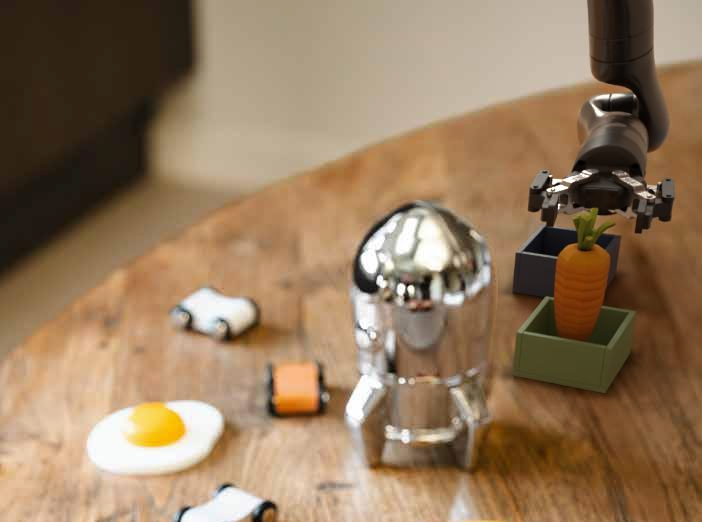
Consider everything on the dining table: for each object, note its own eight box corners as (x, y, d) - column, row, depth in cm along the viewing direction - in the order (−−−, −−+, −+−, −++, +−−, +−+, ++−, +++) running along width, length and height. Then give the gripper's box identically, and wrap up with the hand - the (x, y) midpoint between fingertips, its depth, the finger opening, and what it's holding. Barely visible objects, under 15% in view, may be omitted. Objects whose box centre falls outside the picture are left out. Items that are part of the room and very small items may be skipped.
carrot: (568, 342, 122) (586, 195, 113) (607, 359, 119) (629, 209, 110) (535, 357, 120) (550, 208, 111) (574, 374, 116) (593, 222, 107)
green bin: (630, 353, 121) (636, 311, 118) (605, 393, 114) (611, 349, 112) (541, 337, 124) (545, 296, 122) (512, 375, 118) (516, 332, 115)
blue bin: (616, 274, 137) (621, 235, 134) (593, 305, 130) (598, 265, 127) (537, 262, 140) (541, 223, 137) (512, 292, 134) (515, 252, 131)
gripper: (546, 128, 129) (524, 177, 117) (684, 136, 126) (676, 187, 113) (539, 197, 134) (518, 252, 122) (672, 207, 130) (664, 263, 118)
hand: (594, 220), depth 117 cm, fingers open, 8 cm apart
